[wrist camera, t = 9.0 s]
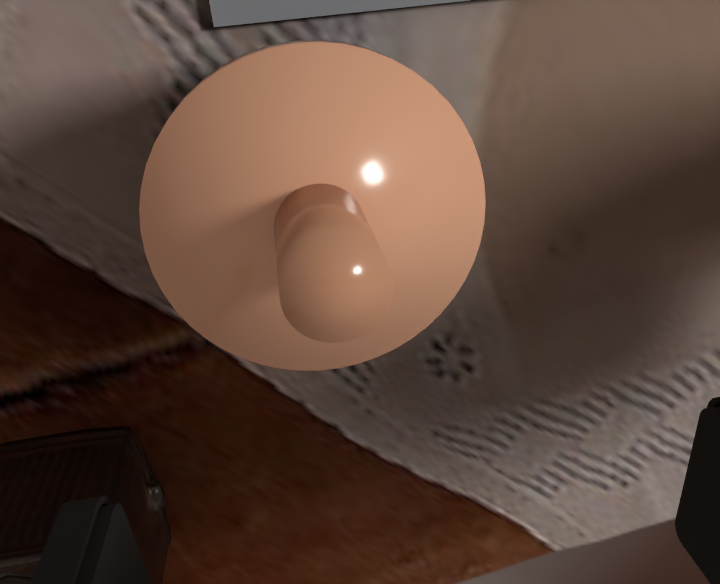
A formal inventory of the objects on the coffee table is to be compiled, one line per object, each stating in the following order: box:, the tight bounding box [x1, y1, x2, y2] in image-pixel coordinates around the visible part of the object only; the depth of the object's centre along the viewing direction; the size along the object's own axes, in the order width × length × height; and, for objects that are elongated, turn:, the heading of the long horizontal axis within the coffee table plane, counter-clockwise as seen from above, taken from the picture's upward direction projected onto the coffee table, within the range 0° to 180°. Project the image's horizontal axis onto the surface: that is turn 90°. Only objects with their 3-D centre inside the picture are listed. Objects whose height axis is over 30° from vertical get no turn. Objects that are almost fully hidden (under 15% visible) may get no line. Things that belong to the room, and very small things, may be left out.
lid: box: [139, 40, 486, 371], centre depth 19 cm, size 12×12×6 cm
